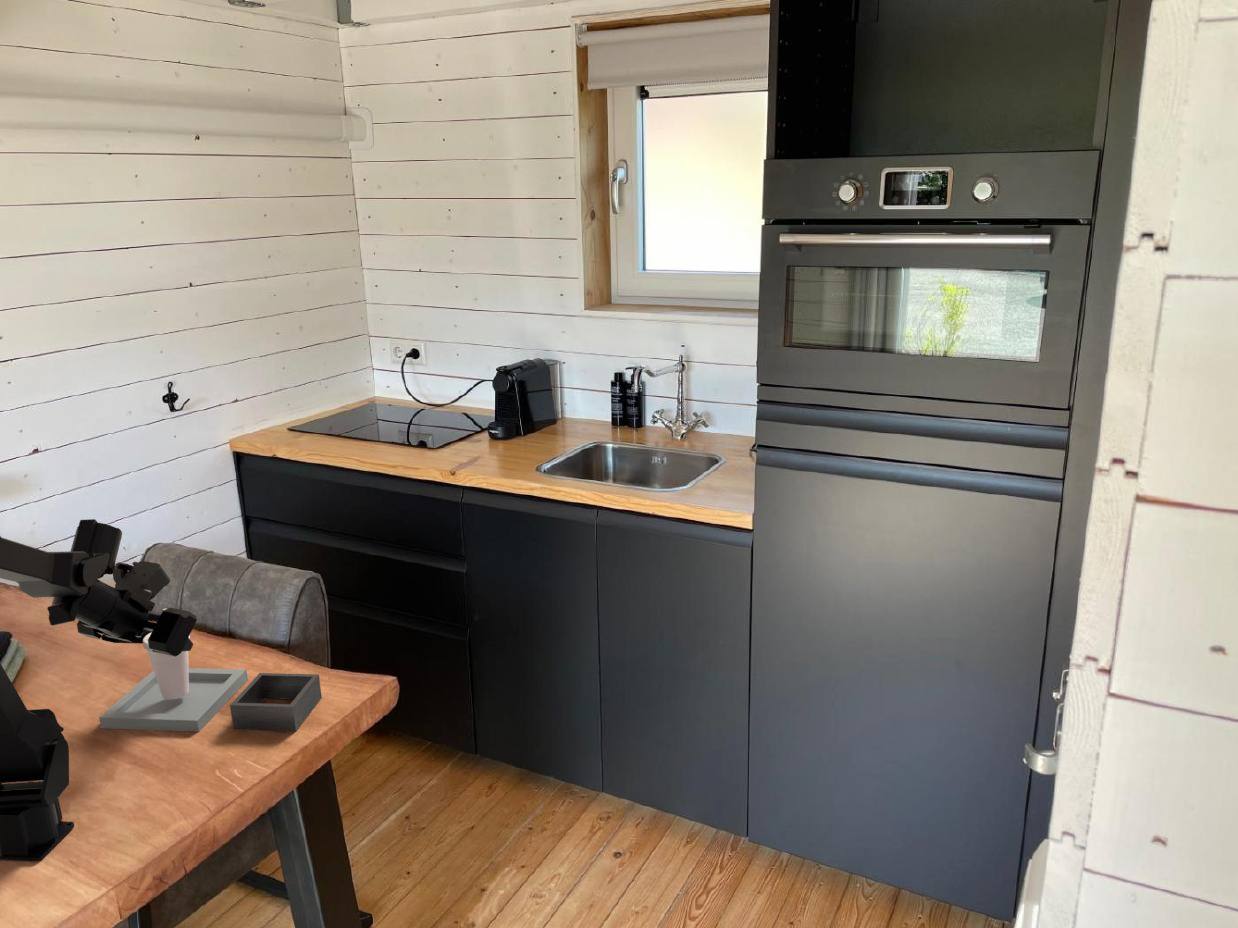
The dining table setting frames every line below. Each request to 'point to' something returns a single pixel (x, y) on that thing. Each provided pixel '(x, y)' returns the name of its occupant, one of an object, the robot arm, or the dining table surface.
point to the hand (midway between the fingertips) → (175, 643)
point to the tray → (175, 702)
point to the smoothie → (170, 671)
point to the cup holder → (276, 716)
